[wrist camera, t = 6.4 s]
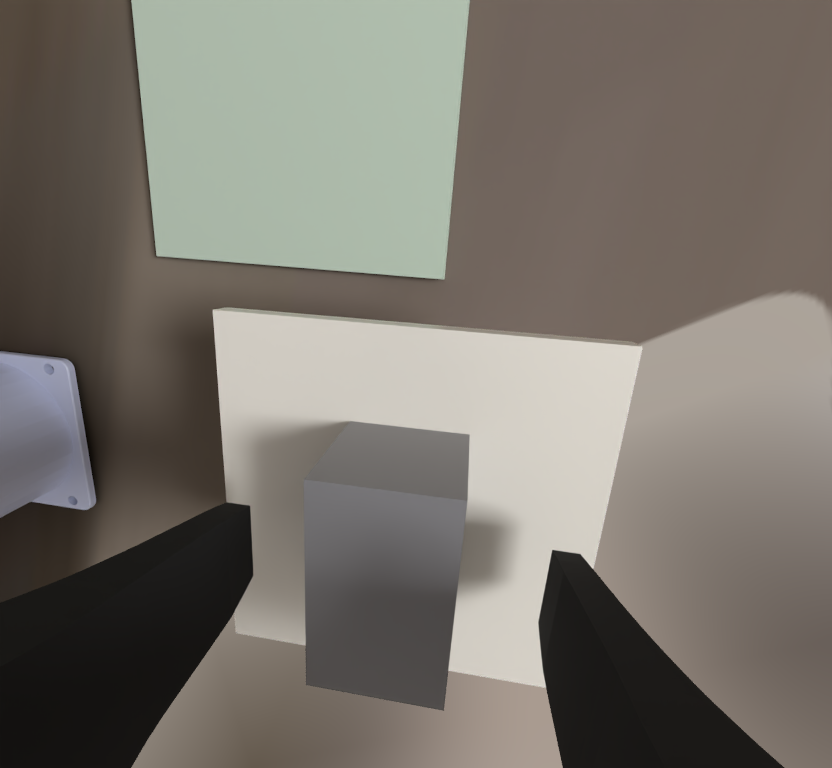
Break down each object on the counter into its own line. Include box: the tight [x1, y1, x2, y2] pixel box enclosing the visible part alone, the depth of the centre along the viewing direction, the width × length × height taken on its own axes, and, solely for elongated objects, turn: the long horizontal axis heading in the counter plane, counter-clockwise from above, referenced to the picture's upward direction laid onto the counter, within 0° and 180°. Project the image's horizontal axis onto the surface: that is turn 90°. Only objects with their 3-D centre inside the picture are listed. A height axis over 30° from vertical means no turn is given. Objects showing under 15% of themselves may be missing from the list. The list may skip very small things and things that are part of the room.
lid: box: [213, 307, 643, 710], centre depth 10 cm, size 10×10×4 cm
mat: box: [131, 0, 470, 279], centre depth 15 cm, size 12×12×1 cm
